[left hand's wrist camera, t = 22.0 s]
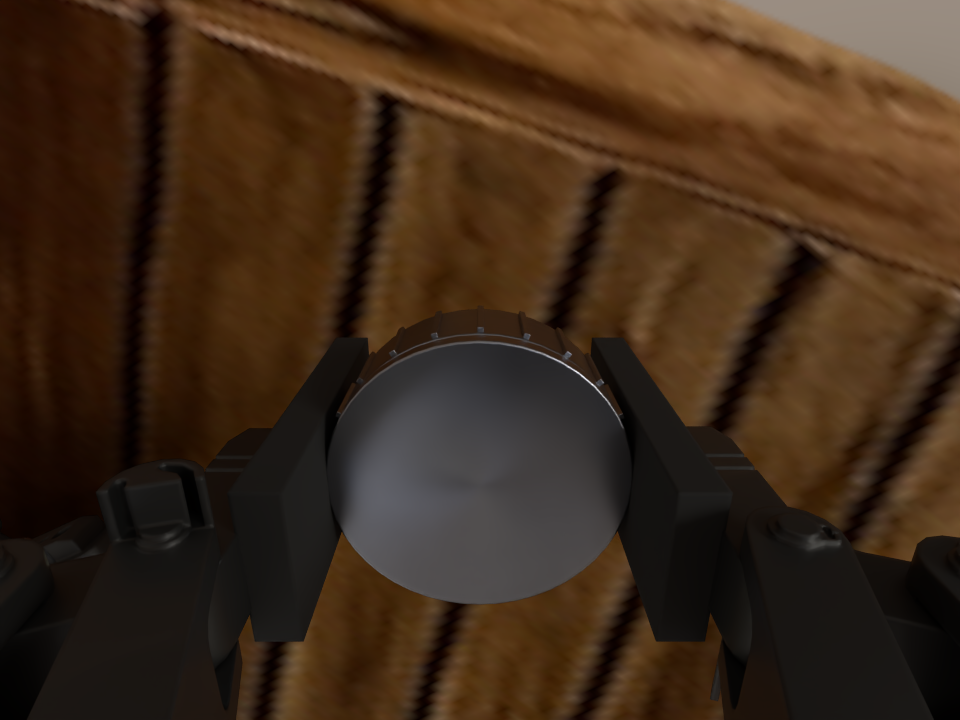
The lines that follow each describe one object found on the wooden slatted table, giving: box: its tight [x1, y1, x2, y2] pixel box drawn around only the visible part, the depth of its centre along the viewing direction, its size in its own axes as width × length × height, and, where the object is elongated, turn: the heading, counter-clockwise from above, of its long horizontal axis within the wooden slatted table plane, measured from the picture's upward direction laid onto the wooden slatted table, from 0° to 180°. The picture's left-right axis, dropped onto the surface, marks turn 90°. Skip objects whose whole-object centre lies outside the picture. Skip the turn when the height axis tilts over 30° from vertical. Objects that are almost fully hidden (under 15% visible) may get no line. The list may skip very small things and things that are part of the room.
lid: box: [326, 306, 633, 604], centre depth 11 cm, size 6×6×2 cm
